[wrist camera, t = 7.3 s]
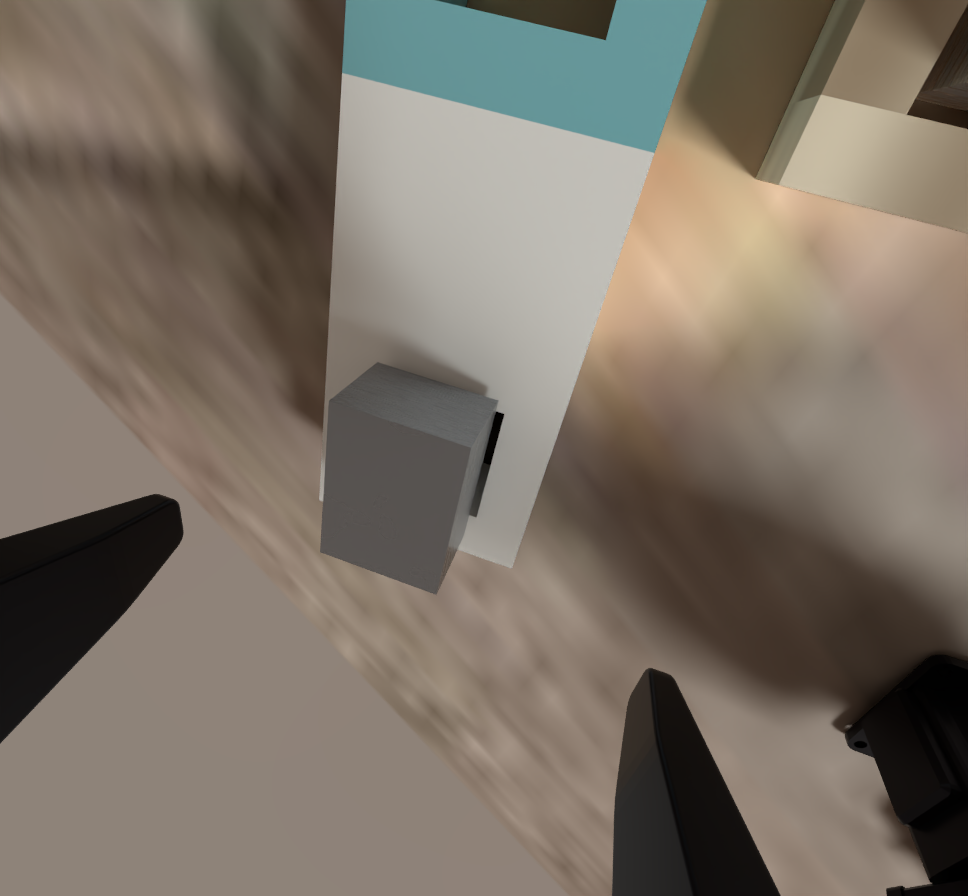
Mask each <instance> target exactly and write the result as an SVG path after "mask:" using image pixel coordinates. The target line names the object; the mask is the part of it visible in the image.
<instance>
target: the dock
mask: <svg viewBox="0 0 968 896" xmlns="http://www.w3.org/2000/svg"><path fill="white" fill-rule="evenodd" d="M706 1H707V0H617V1H616V4H615V8H614V12H613V15H612V19H611V23H610V26H609V30H608V34H607V37H606V40H602V39H598V38H594V37H590V36H585V35H581V34H577V33H573V32H568V31H564V30H560V29H556V28H551V27H547V26H543V25H539V24H534V23H530V22H526V21H521V20H517V19H513V18H509V17H504V16H500V15H496V14H492V13H487V12H483V11H479V10H475V9H470V8H466V7H467V0H346V10H345V29H344V48H343V66H342V85H341V104H340V122H339V141H338V160H337V178H336V197H335V216H334V234H333V253H332V272H331V290H330V309H329V328H328V346H327V365H326V384H325V402H324V421H323V440H322V458H321V477H320V496H319V500H320V501H323V495H324V477H325V459H326V442H327V424H328V406H329V400H330V399H332V398H333V397H334V396H335V395H337V394H338V393H339V392H340V391H342V390H343V389H344V388H345V387H347V386H348V385H349V384H351V383H352V382H353V381H354V380H356V379H357V378H358V377H359V376H361V375H362V374H363V373H364V372H366V371H367V370H368V369H369V368H371V367H372V366H373V365H374V364H376V363H377V362H379V363H382V364H385V365H388V366H391V367H395V368H398V369H401V370H404V371H407V372H410V373H413V374H417V375H420V376H423V377H426V378H429V379H432V380H435V381H439V382H442V383H445V384H448V385H451V386H454V387H457V388H461V389H464V390H467V391H470V392H473V393H476V394H479V395H483V396H486V397H489V398H492V399H495V400H498V405H497V409H496V411H497V412H500V413H503V414H504V418H503V422H502V425H501V429H500V433H499V436H498V440H497V444H496V447H495V451H494V455H493V459H492V462H491V465H488V464H485V463H482V467H481V471H480V475H479V479H478V483H477V487H476V491H475V495H474V498H473V502H472V506H471V510H470V514H469V518H468V522H467V526H466V530H465V534H464V536H463V539H462V541H461V543H460V545H459V547H458V550H460V551H463V552H466V553H469V554H472V555H474V556H477V557H480V558H483V559H486V560H488V561H491V562H494V563H497V564H500V565H503V566H505V567H508V568H511V569H512V567H513V564H514V561H515V558H516V555H517V552H518V549H519V546H520V543H521V540H522V537H523V535H524V532H525V529H526V526H527V523H528V520H529V517H530V514H531V511H532V508H533V505H534V503H535V500H536V497H537V494H538V491H539V488H540V485H541V482H542V479H543V476H544V473H545V470H546V468H547V465H548V462H549V459H550V456H551V453H552V450H553V447H554V444H555V441H556V438H557V435H558V433H559V430H560V427H561V424H562V421H563V418H564V415H565V412H566V409H567V406H568V403H569V401H570V398H571V395H572V392H573V389H574V386H575V383H576V380H577V377H578V374H579V371H580V368H581V366H582V363H583V360H584V357H585V354H586V351H587V348H588V345H589V342H590V339H591V336H592V334H593V331H594V328H595V325H596V322H597V319H598V316H599V313H600V310H601V307H602V304H603V301H604V299H605V296H606V293H607V290H608V287H609V284H610V281H611V278H612V275H613V272H614V269H615V267H616V264H617V261H618V258H619V255H620V252H621V249H622V246H623V243H624V240H625V237H626V234H627V232H628V229H629V226H630V223H631V220H632V217H633V214H634V211H635V208H636V205H637V202H638V199H639V197H640V194H641V191H642V188H643V185H644V182H645V179H646V176H647V173H648V170H649V167H650V165H651V162H652V159H653V156H654V153H655V150H656V147H657V144H658V141H659V138H660V135H661V132H662V130H663V127H664V124H665V121H666V118H667V115H668V112H669V109H670V106H671V103H672V100H673V98H674V95H675V92H676V89H677V86H678V83H679V80H680V77H681V74H682V71H683V68H684V65H685V63H686V60H687V57H688V54H689V51H690V48H691V45H692V42H693V39H694V36H695V33H696V31H697V28H698V25H699V22H700V19H701V16H702V13H703V10H704V7H705V4H706Z"/></svg>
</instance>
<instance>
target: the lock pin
mask: <svg viewBox="0 0 968 896" xmlns="http://www.w3.org/2000/svg"><path fill="white" fill-rule="evenodd" d="M915 99H916V100H920V101H924V102H929V103H933V104H937V105H942V106H946V107H950V108H954V109H959V110H963V111H967V112H968V5H967V6H966V8H965V10H964V12H963V14H962V15H961V17H960V19H959V21H958V23H957V24H956V26H955V28H954V30H953V32H952V33H951V35H950V37H949V39H948V41H947V42H946V44H945V46H944V48H943V50H942V52H941V53H940V55H939V57H938V59H937V61H936V62H935V64H934V66H933V68H932V70H931V71H930V73H929V75H928V77H927V79H926V80H925V82H924V84H923V86H922V88H921V89H920V91H919V93H918V95H917V97H916V98H915Z"/></svg>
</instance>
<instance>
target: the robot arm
mask: <svg viewBox="0 0 968 896" xmlns="http://www.w3.org/2000/svg"><path fill="white" fill-rule="evenodd" d="M182 537H183V525H182V518H181V512H180V507H179V504H178V502H177V501H176V500H174V499H171V498H169V497H166V496H163V495H159V494H153V495H149V496H146V497H142V498H139V499H135V500H132V501H129V502H125V503H122V504H118V505H115V506H111V507H108V508H105V509H101V510H98V511H94V512H91V513H88V514H84V515H81V516H77V517H74V518H70V519H67V520H64V521H61V522H57V523H54V524H50V525H47V526H43V527H40V528H36V529H33V530H30V531H26V532H23V533H20V534H16V535H12V536H9V537H6V538H2V539H0V743H1V742H2V741H3V740H4V739H5V738H6V737H7V736H8V735H9V734H10V733H11V732H12V731H13V730H14V728H16V726H17V725H18V724H19V723H20V722H21V721H22V720H23V719H24V718H25V717H26V716H27V715H28V714H29V713H30V712H31V711H32V710H33V709H34V707H36V705H37V704H38V703H39V702H40V701H41V700H42V699H43V698H44V697H45V696H46V695H47V694H48V693H49V692H50V691H51V690H52V689H53V688H54V687H55V686H56V684H57V683H58V682H59V681H60V680H61V679H62V678H63V677H64V676H65V675H66V674H67V673H68V672H69V671H70V670H71V669H72V668H73V666H75V664H77V662H78V661H79V660H80V659H81V658H82V657H83V656H84V655H85V654H86V653H87V652H88V651H89V650H90V649H91V648H92V647H93V646H94V645H95V644H96V643H97V641H98V640H99V639H100V638H101V637H102V636H103V635H104V634H105V633H106V632H107V631H108V630H109V629H110V628H111V627H112V626H113V625H114V624H115V623H116V621H118V619H119V618H120V617H121V616H122V615H123V614H124V613H125V612H126V611H127V609H128V608H129V607H130V606H131V605H132V603H133V602H134V601H135V600H136V599H137V597H138V596H139V595H140V594H141V592H142V591H143V590H144V588H145V587H146V586H147V585H148V583H149V582H150V581H151V580H152V578H153V577H154V576H155V574H156V573H157V572H158V571H159V569H160V568H161V567H162V566H163V564H164V563H165V562H166V561H167V559H168V558H169V557H170V556H171V554H172V553H173V552H174V550H175V549H176V548H177V547H178V545H179V544H180V542H181V540H182ZM845 739H846V742H847V744H848V746H849V747H850V748H851V749H853V750H855V751H857V752H860V753H863V754H866V755H868V756H871V757H874V758H875V761H876V764H877V766H878V769H879V771H880V774H881V777H882V779H883V782H884V785H885V787H886V790H887V792H888V795H889V798H890V800H891V803H892V805H893V808H894V811H895V813H896V816H897V818H898V820H899V821H900V823H901V824H903V825H905V826H908V827H909V830H910V832H911V835H912V838H913V840H914V843H915V845H916V848H917V850H918V853H919V855H920V858H921V860H922V863H923V866H924V868H925V871H926V873H927V876H928V878H929V881H930V882H931V883H933V884H927V885H922V886H916V887H910V888H905V887H903V886H897V887H891V888H887V889H886V892H887V896H968V663H967V662H964V661H961V660H958V659H955V658H952V657H949V656H945V655H935V656H931V657H929V658H928V659H926V660H925V661H924V662H923V663H922V664H921V665H920V666H919V667H917V668H916V669H915V670H914V671H913V672H912V673H911V674H910V675H909V676H908V677H906V678H905V679H904V680H903V681H902V682H901V683H900V684H899V685H898V686H896V687H895V688H894V689H893V690H892V691H891V692H890V693H889V694H888V695H887V696H885V697H884V698H883V699H882V700H881V701H880V702H879V703H878V704H877V705H876V706H874V707H873V708H872V709H871V710H870V711H869V712H868V713H867V714H866V715H864V716H863V717H862V718H861V719H860V720H859V721H858V722H857V723H856V724H855V725H853V726H852V727H851V728H850V729H849V730H848V731H847V732H846V733H845ZM612 896H780V894H779V892H778V889H777V887H776V885H775V883H774V881H773V879H772V877H771V875H770V873H769V871H768V869H767V867H766V865H765V863H764V861H763V859H762V857H761V855H760V853H759V851H758V849H757V847H756V845H755V843H754V840H753V838H752V836H751V834H750V832H749V830H748V828H747V826H746V824H745V822H744V820H743V818H742V816H741V814H740V812H739V810H738V808H737V806H736V804H735V802H734V800H733V798H732V796H731V794H730V791H729V789H728V787H727V785H726V783H725V781H724V779H723V777H722V775H721V773H720V771H719V769H718V767H717V765H716V763H715V761H714V759H713V757H712V755H711V753H710V751H709V749H708V747H707V745H706V742H705V740H704V738H703V736H702V734H701V732H700V730H699V728H698V726H697V724H696V722H695V720H694V718H693V716H692V714H691V712H690V710H689V708H688V706H687V704H686V702H685V700H684V698H683V696H682V693H681V691H680V689H679V687H678V685H677V683H676V681H675V680H674V678H673V677H672V676H671V675H669V674H667V673H664V672H661V671H658V670H656V669H653V668H648V669H647V670H645V672H644V673H643V675H642V677H641V678H640V680H639V682H638V683H637V685H636V687H635V688H634V690H633V692H632V694H631V696H630V698H629V701H628V706H627V712H626V719H625V727H624V734H623V742H622V749H621V757H620V764H619V772H618V779H617V787H616V796H615V810H614V843H613V884H612Z"/></svg>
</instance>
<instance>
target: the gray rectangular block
mask: <svg viewBox="0 0 968 896" xmlns="http://www.w3.org/2000/svg"><path fill="white" fill-rule="evenodd" d="M497 405H498V400H495V399H492V398H489V397H486V396H483V395H479V394H476V393H473V392H470V391H467V390H464V389H461V388H457V387H454V386H451V385H448V384H445V383H442V382H439V381H435V380H432V379H429V378H426V377H423V376H420V375H417V374H413V373H410V372H407V371H404V370H401V369H398V368H395V367H391V366H388V365H385V364H382V363H379V362H377V363H376V364H374V365H373V366H372V367H371V368H369V369H368V370H367V371H366V372H364V373H363V374H362V375H361V376H359V377H358V378H357V379H356V380H354V381H353V382H352V383H351V384H349V385H348V386H347V387H345V388H344V389H343V390H342V391H340V392H339V393H338V394H337V395H335V396H334V397H333V398H332V399H330V400H329V406H328V424H327V442H326V459H325V477H324V495H323V512H322V530H321V548H320V552H321V553H324V554H327V555H330V556H332V557H335V558H338V559H340V560H343V561H346V562H349V563H351V564H354V565H357V566H360V567H362V568H365V569H368V570H370V571H373V572H376V573H379V574H381V575H384V576H387V577H390V578H392V579H395V580H398V581H400V582H403V583H406V584H409V585H411V586H414V587H417V588H420V589H422V590H425V591H428V592H430V593H433V594H437V592H438V590H439V588H440V586H441V584H442V582H443V579H444V577H445V575H446V573H447V571H448V569H449V567H450V564H451V562H452V560H453V558H454V556H455V554H456V551H457V549H458V547H459V545H460V543H461V541H462V539H463V536H464V534H465V530H466V526H467V522H468V518H469V514H470V510H471V506H472V502H473V498H474V495H475V491H476V487H477V483H478V479H479V475H480V471H481V467H482V463H483V460H484V456H485V452H486V448H487V444H488V440H489V436H490V432H491V428H492V424H493V421H494V417H495V413H496V409H497Z"/></svg>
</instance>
